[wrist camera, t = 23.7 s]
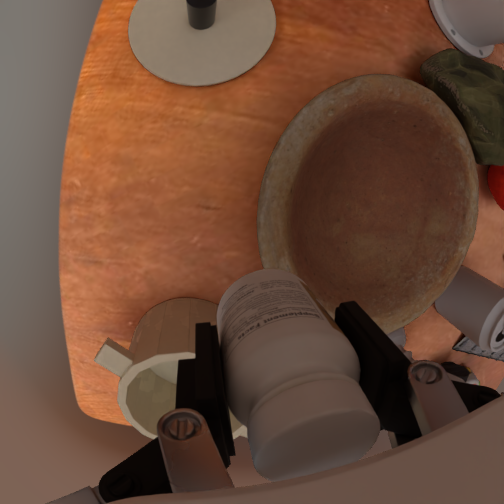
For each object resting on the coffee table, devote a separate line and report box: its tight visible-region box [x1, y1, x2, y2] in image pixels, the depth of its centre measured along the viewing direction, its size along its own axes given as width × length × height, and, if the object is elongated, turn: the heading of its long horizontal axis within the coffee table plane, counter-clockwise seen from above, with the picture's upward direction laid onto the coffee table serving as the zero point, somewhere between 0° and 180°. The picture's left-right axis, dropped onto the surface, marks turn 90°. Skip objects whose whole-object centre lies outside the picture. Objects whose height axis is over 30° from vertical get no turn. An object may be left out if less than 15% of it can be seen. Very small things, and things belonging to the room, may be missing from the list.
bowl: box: [257, 74, 479, 334], centre depth 27 cm, size 24×24×8 cm
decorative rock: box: [420, 49, 504, 166], centre depth 25 cm, size 15×16×10 cm
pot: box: [94, 298, 247, 439], centre depth 29 cm, size 13×18×10 cm
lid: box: [128, 0, 276, 86], centre depth 20 cm, size 14×14×6 cm
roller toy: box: [465, 367, 480, 385], centre depth 42 cm, size 4×6×6 cm
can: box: [435, 266, 504, 352], centre depth 31 cm, size 8×8×12 cm
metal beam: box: [452, 336, 504, 362], centre depth 43 cm, size 30×1×5 cm
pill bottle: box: [217, 269, 380, 482], centre depth 10 cm, size 4×4×8 cm
